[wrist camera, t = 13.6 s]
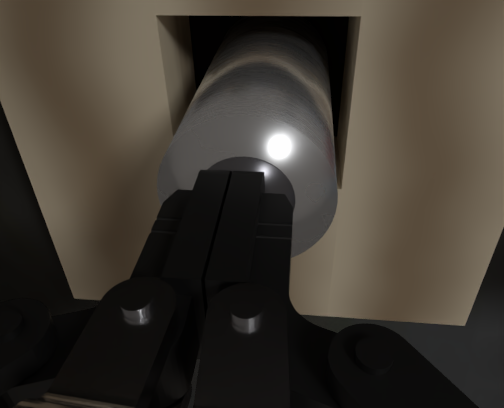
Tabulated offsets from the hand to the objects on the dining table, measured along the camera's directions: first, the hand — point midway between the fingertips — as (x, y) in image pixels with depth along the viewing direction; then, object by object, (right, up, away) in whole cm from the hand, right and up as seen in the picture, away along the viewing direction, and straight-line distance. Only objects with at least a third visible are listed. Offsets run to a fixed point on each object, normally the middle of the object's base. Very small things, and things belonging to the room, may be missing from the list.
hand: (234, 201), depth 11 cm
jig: (+1, +3, +9) cm, 10 cm away
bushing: (+1, +5, +7) cm, 9 cm away
